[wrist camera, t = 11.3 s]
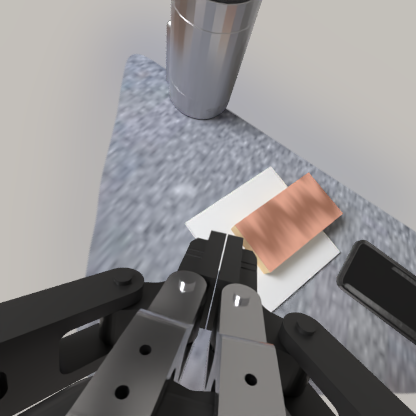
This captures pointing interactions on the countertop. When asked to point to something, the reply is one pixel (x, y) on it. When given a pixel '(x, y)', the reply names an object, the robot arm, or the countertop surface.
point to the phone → (381, 287)
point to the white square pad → (223, 222)
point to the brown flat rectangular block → (286, 222)
